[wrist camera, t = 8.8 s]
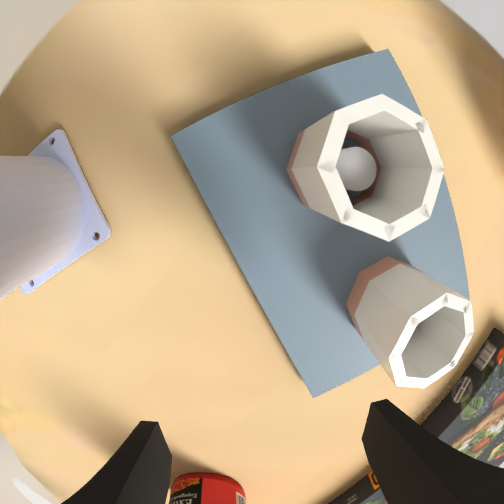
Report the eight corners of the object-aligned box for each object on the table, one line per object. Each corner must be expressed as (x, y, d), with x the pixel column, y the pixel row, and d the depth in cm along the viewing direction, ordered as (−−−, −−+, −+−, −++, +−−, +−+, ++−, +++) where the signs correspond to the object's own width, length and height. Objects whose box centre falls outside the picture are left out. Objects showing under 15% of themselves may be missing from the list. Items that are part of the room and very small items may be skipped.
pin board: (308, 385, 20) (322, 426, 16) (175, 139, 16) (155, 127, 11) (459, 297, 20) (493, 319, 15) (378, 56, 15) (412, 31, 11)
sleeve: (314, 229, 16) (355, 260, 10) (273, 144, 15) (296, 126, 9) (388, 191, 16) (454, 203, 10) (353, 110, 14) (410, 84, 9)
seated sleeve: (361, 345, 18) (400, 402, 12) (337, 283, 17) (381, 333, 11) (422, 308, 18) (474, 351, 12) (406, 245, 17) (468, 276, 11)
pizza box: (551, 378, 27) (561, 387, 24) (432, 506, 34) (438, 517, 31) (491, 324, 22) (512, 340, 18) (301, 517, 28) (305, 536, 25)
